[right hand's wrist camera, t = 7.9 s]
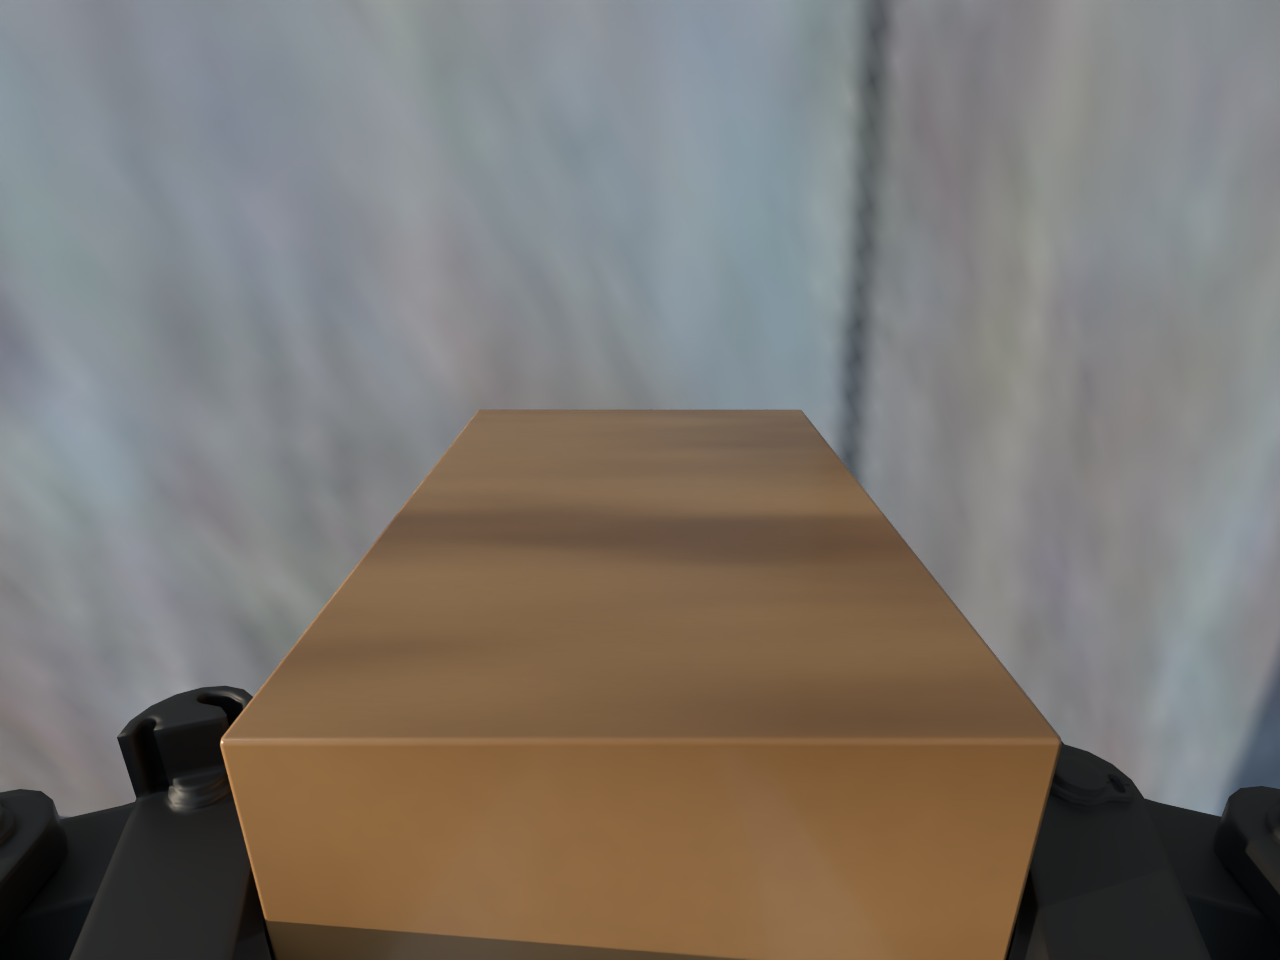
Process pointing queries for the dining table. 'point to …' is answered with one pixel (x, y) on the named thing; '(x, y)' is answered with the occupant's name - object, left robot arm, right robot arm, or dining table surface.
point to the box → (640, 716)
